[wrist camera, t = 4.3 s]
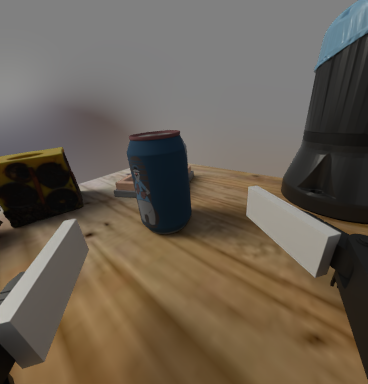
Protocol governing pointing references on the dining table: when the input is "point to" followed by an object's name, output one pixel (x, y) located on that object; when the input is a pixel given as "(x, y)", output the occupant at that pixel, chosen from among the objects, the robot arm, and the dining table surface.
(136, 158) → the soda can
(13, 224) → the yellow black cube
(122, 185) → the coaster
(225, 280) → the dining table surface
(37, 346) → the robot arm
